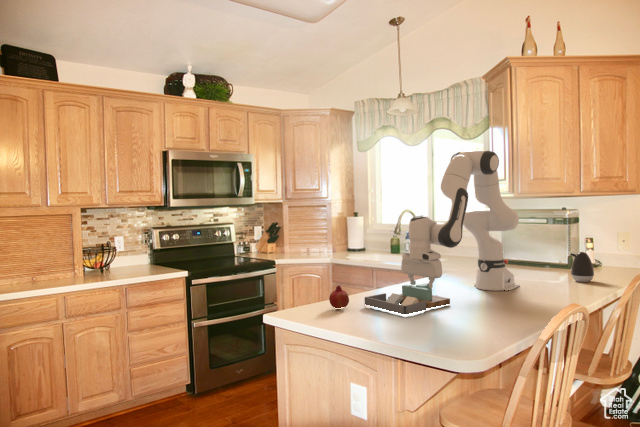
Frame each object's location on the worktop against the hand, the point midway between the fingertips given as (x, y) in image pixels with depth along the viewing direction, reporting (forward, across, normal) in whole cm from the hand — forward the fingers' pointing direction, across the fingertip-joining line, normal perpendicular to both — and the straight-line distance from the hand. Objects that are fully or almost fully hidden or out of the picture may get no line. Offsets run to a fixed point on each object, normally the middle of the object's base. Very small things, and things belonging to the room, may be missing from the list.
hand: (421, 286), depth 188 cm
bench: (+8, 0, -2) cm, 8 cm away
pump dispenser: (+9, +21, +97) cm, 99 cm away
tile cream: (+5, +5, -12) cm, 14 cm away
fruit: (+7, -15, -33) cm, 37 cm away
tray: (+7, 0, -17) cm, 18 cm away
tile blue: (+5, -4, -12) cm, 14 cm away
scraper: (+4, 0, 0) cm, 5 cm away
